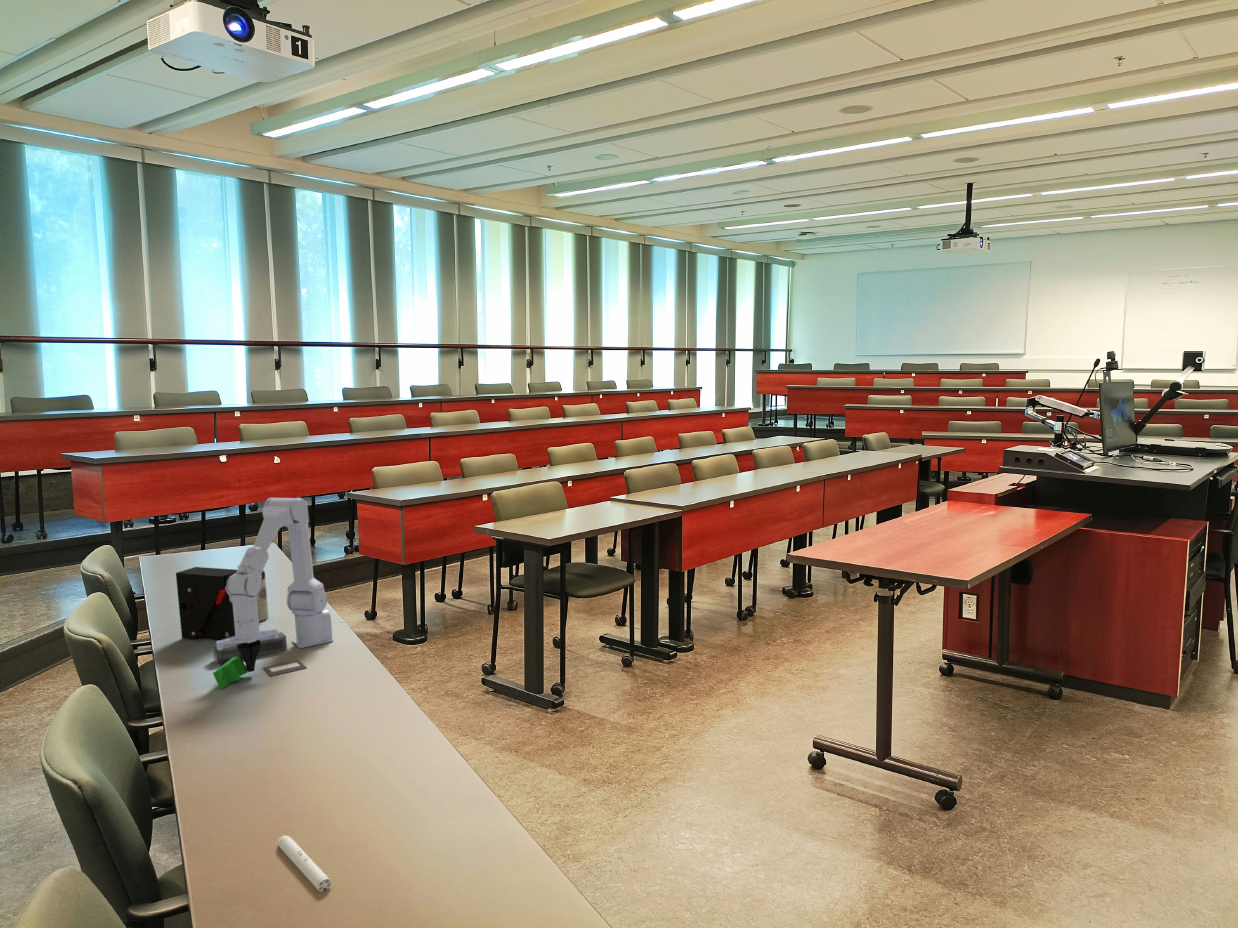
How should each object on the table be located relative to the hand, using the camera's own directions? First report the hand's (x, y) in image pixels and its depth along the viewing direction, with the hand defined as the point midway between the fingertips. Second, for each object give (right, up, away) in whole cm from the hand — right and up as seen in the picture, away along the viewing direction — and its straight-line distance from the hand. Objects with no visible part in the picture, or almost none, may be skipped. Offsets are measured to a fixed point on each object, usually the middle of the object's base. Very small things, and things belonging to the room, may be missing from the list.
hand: (250, 670), depth 214 cm
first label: (-7, -1, +8) cm, 10 cm away
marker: (+45, -11, -83) cm, 95 cm away
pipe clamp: (-2, -2, -3) cm, 4 cm away
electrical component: (-25, +2, +34) cm, 42 cm away
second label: (+7, -1, +5) cm, 8 cm away
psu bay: (-7, 0, +16) cm, 17 cm away
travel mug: (-20, +4, +49) cm, 54 cm away
